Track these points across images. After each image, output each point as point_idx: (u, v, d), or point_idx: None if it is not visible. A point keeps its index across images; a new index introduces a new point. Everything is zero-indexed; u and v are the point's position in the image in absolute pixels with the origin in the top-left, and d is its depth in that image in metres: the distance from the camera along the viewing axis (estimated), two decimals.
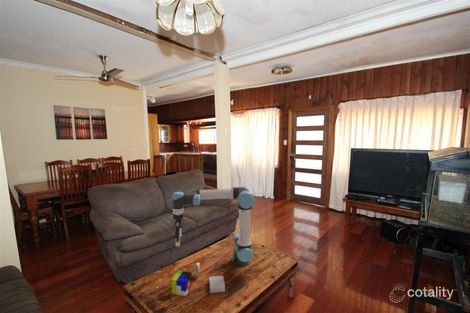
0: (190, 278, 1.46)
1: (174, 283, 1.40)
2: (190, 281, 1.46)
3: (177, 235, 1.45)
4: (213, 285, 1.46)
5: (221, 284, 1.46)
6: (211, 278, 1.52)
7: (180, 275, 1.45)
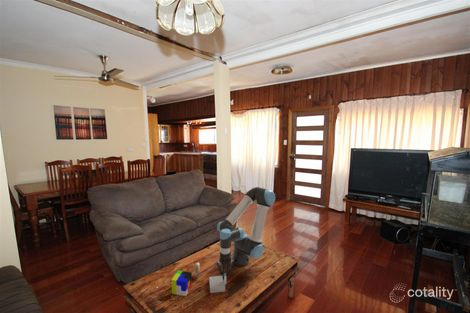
0: (190, 278, 1.46)
1: (174, 283, 1.40)
2: (190, 281, 1.46)
3: None
4: (213, 285, 1.45)
5: (221, 284, 1.46)
6: (211, 278, 1.52)
7: (180, 275, 1.45)
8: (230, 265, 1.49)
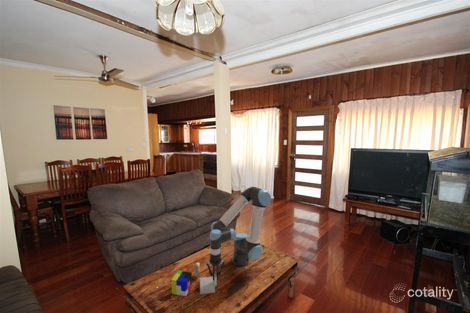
0: (190, 278, 1.46)
1: (174, 283, 1.40)
2: (190, 281, 1.46)
3: None
4: (203, 286, 1.44)
5: (211, 285, 1.45)
6: (201, 279, 1.51)
7: (180, 275, 1.45)
8: (220, 266, 1.48)
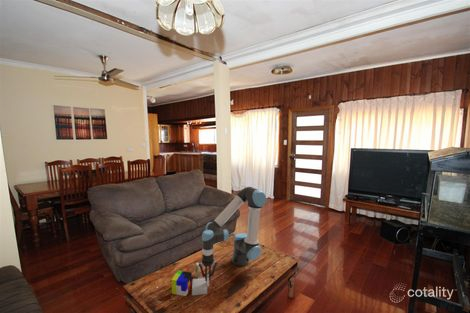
0: (190, 278, 1.46)
1: (174, 283, 1.40)
2: (190, 281, 1.46)
3: None
4: (195, 287, 1.43)
5: (203, 287, 1.44)
6: (194, 280, 1.50)
7: (180, 275, 1.45)
8: (213, 267, 1.47)
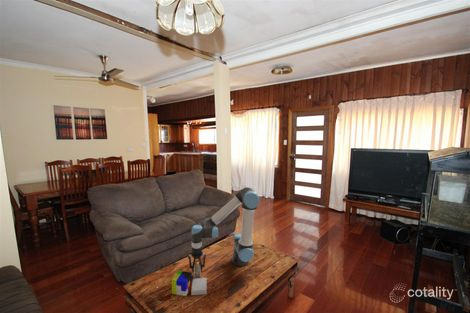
0: (190, 278, 1.46)
1: (174, 283, 1.40)
2: (190, 281, 1.46)
3: None
4: (195, 287, 1.43)
5: (203, 287, 1.44)
6: (194, 280, 1.50)
7: (180, 275, 1.45)
8: (203, 259, 1.58)
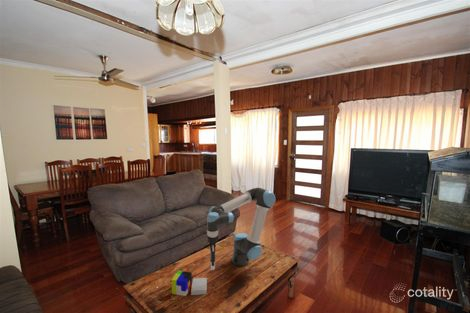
0: (190, 278, 1.46)
1: (174, 283, 1.40)
2: (190, 281, 1.46)
3: (213, 259, 1.41)
4: (194, 287, 1.43)
5: (203, 287, 1.44)
6: (194, 280, 1.50)
7: (180, 275, 1.45)
8: None
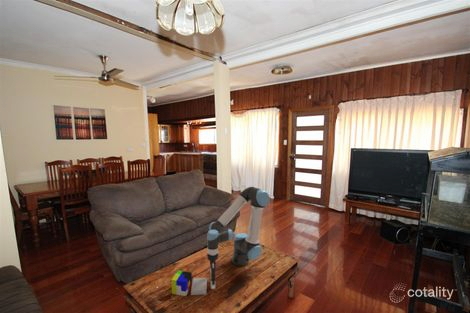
0: (190, 278, 1.46)
1: (174, 283, 1.40)
2: (190, 281, 1.46)
3: (213, 278, 1.38)
4: (194, 287, 1.43)
5: (203, 287, 1.44)
6: (194, 280, 1.50)
7: (180, 275, 1.45)
8: None
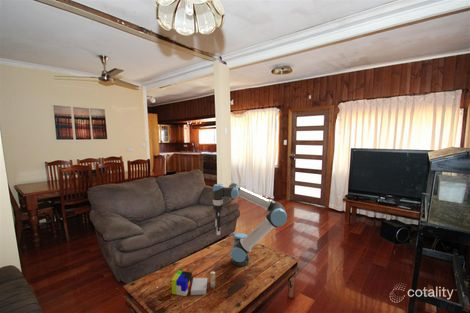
0: (190, 278, 1.46)
1: (174, 283, 1.40)
2: (190, 281, 1.46)
3: (219, 224, 1.55)
4: (194, 287, 1.44)
5: (203, 287, 1.44)
6: (194, 280, 1.50)
7: (180, 275, 1.45)
8: None
